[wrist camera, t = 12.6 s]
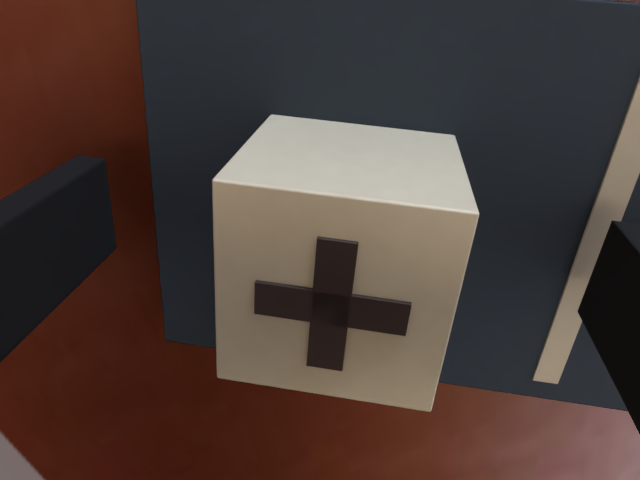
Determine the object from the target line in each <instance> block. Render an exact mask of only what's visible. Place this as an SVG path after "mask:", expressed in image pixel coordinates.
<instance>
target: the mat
mask: <svg viewBox="0 0 640 480" xmlns="http://www.w3.org/2000/svg"><path fill="white" fill-rule="evenodd" d="M136 7H137V19H138V30H139V42H140V53H141V65H142V76H143V88H144V99H145V111H146V122H147V134H148V145H149V157H150V168H151V180H152V191H153V203H154V214H155V226H156V237H157V249H158V260H159V272H160V283H161V295H162V306H163V318H164V329H165V340H166V341H172V342H179V343H185V344H192V345H198V346H205V347H211V348H216V322H215V281H214V241H213V200H212V180H213V178H214V177H215V176H216V175H217V174H218V173H219V172H220V170H221V169H222V168H223V167H224V166H225V165H226V164H227V163H228V162H229V160H230V159H231V158H232V157H233V156H234V155H235V154H236V153H237V152H238V150H239V149H240V148H241V147H242V146H243V145H244V144H245V143H246V142H247V140H248V139H249V138H250V137H251V136H252V135H253V134H254V133H255V132H256V130H257V129H258V128H259V127H260V126H261V125H262V124H263V123H264V121H265V120H266V119H267V118H268V117H269V116H270V115H272V114H273V115H282V116H291V117H299V118H308V119H317V120H326V121H335V122H343V123H352V124H361V125H370V126H379V127H388V128H396V129H405V130H414V131H423V132H432V133H440V134H449V135H454V136H455V138H456V141H457V144H458V147H459V150H460V154H461V157H462V160H463V163H464V166H465V169H466V173H467V176H468V179H469V182H470V185H471V189H472V192H473V195H474V198H475V201H476V205H477V208H478V211H479V218H478V223H477V227H476V231H475V235H474V239H473V243H472V247H471V251H470V255H469V259H468V263H467V267H466V271H465V275H464V280H463V284H462V288H461V292H460V296H459V300H458V304H457V308H456V312H455V316H454V320H453V324H452V328H451V332H450V337H449V341H448V345H447V349H446V353H445V357H444V361H443V365H442V369H441V373H440V377H439V381H438V382H440V383H447V384H453V385H460V386H466V387H473V388H480V389H486V390H493V391H499V392H506V393H512V394H519V395H525V396H532V397H538V398H545V399H552V400H558V401H565V402H571V403H578V404H584V405H591V406H597V407H604V408H610V409H617V410H624V411H628V410H627V408H626V406H625V404H624V402H623V400H622V398H621V396H620V394H619V392H618V390H617V388H616V386H615V384H614V382H613V380H612V378H611V377H610V375H609V373H608V371H607V369H606V367H605V365H604V363H603V361H602V359H601V357H600V355H599V353H598V351H597V349H596V347H595V345H594V343H593V341H592V339H591V337H590V335H589V333H588V331H587V329H586V327H585V325H584V324H583V322H582V320H581V318H580V316H579V314H578V312H577V311H578V309H579V306H580V303H581V301H582V298H583V295H584V293H585V290H586V287H587V285H588V282H589V279H590V277H591V274H592V272H593V269H594V266H595V264H596V261H597V258H598V256H599V253H600V250H601V248H602V245H603V242H604V240H605V237H606V235H607V232H608V229H609V227H610V224H611V221H612V220H613V221H621V222H630V223H638V224H640V3H633V2H621V1H609V0H136Z"/></svg>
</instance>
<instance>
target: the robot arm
mask: <svg viewBox="0 0 640 480" xmlns="http://www.w3.org/2000/svg"><path fill="white" fill-rule="evenodd" d="M116 248H117V247H116V239H115V232H114V224H113V216H112V208H111V201H110V193H109V185H108V178H107V170H106V162H105V159H104V158H95V157H87V156H79V155H78V156H76V157H74V158H73V159H71V160H69V161H68V162H66V163H64V164H62V165H61V166H59V167H57V168H55V169H54V170H52V171H50V172H48V173H47V174H45V175H43V176H42V177H40V178H38V179H36V180H35V181H33V182H31V183H29V184H28V185H26V186H24V187H23V188H21V189H19V190H17V191H16V192H14V193H12V194H10V195H9V196H7V197H5V198H3V199H2V200H0V362H1V361H2V360H3V359H4V358H5V357H6V356H7V355H8V354H9V353H10V352H11V351H12V350H13V349H14V348H15V347H16V346H17V345H18V344H19V343H20V342H21V341H22V340H23V339H24V338H25V337H26V336H28V335H29V334H30V333H31V332H32V331H33V330H34V329H35V328H36V327H37V326H38V325H39V324H40V323H41V322H42V321H43V320H44V319H45V318H46V317H47V316H48V315H49V314H50V313H51V312H52V311H53V310H54V309H55V308H56V307H57V306H58V305H59V304H60V303H61V302H62V301H63V300H64V299H65V298H66V297H67V296H68V295H69V294H70V293H71V292H72V291H73V290H74V289H75V288H76V287H77V286H79V285H80V284H81V283H82V282H83V281H84V280H85V279H86V278H87V277H88V276H89V275H90V274H91V273H92V272H93V271H94V270H95V269H96V268H97V267H98V266H99V265H100V264H101V263H102V262H103V261H104V260H105V259H106V258H107V257H108V256H109V255H110V254H111V253H112V252H113V251H114V250H115V249H116ZM577 312H578V314H579V316H580V318H581V320H582V322H583V324H584V325H585V327H586V329H587V331H588V333H589V335H590V337H591V339H592V341H593V343H594V345H595V347H596V349H597V351H598V353H599V355H600V357H601V359H602V361H603V363H604V365H605V367H606V369H607V371H608V373H609V375H610V377H611V378H612V380H613V382H614V384H615V386H616V388H617V390H618V392H619V394H620V396H621V398H622V400H623V402H624V404H625V406H626V408H627V410H628V412H629V414H630V416H631V418H632V420H633V422H634V424H635V426H636V428H637V430H638V431H639V433H640V224H638V223H630V222H621V221H613V220H612V221H611V224H610V227H609V229H608V232H607V235H606V237H605V240H604V242H603V245H602V248H601V250H600V253H599V256H598V258H597V261H596V264H595V266H594V269H593V272H592V274H591V277H590V279H589V282H588V285H587V287H586V290H585V293H584V295H583V298H582V301H581V303H580V306H579V309H578V311H577Z"/></svg>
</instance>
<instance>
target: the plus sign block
mask: <svg viewBox="0 0 640 480" xmlns="http://www.w3.org/2000/svg"><path fill="white" fill-rule="evenodd" d="M212 200H213V241H214V281H215V322H216V362H217V377H218V378H221V379H228V380H234V381H240V382H246V383H253V384H259V385H265V386H271V387H277V388H284V389H290V390H296V391H302V392H309V393H315V394H321V395H327V396H334V397H340V398H346V399H352V400H359V401H365V402H371V403H377V404H383V405H390V406H396V407H402V408H408V409H415V410H421V411H427V412H430V411H431V410H432V406H433V402H434V398H435V394H436V389H437V385H438V381H439V377H440V373H441V369H442V365H443V361H444V357H445V353H446V349H447V345H448V341H449V337H450V332H451V328H452V324H453V320H454V316H455V312H456V308H457V304H458V300H459V296H460V292H461V288H462V284H463V280H464V275H465V271H466V267H467V263H468V259H469V255H470V251H471V247H472V243H473V239H474V235H475V231H476V227H477V223H478V218H479V211H478V208H477V205H476V201H475V198H474V195H473V192H472V189H471V185H470V182H469V179H468V176H467V173H466V169H465V166H464V163H463V160H462V157H461V154H460V150H459V147H458V144H457V141H456V138H455V136H454V135H449V134H440V133H432V132H423V131H414V130H405V129H396V128H388V127H379V126H370V125H361V124H352V123H343V122H335V121H326V120H317V119H308V118H299V117H291V116H282V115H273V114H272V115H270V116H269V117H268V118H267V119H266V120H265V121H264V123H263V124H262V125H261V126H260V127H259V128H258V129H257V130H256V132H255V133H254V134H253V135H252V136H251V137H250V138H249V139H248V140H247V142H246V143H245V144H244V145H243V146H242V147H241V148H240V149H239V150H238V152H237V153H236V154H235V155H234V156H233V157H232V158H231V159H230V160H229V162H228V163H227V164H226V165H225V166H224V167H223V168H222V169H221V170H220V172H219V173H218V174H217V175H216V176H215V177H214V178H213V180H212Z"/></svg>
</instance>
